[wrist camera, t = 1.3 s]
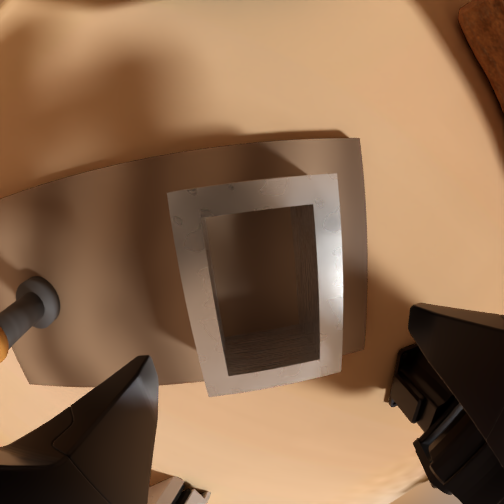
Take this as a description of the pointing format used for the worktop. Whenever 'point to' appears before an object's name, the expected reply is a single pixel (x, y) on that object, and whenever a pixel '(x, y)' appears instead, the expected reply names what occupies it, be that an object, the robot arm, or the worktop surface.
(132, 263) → the board
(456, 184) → the worktop surface
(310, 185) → the hollow metal box
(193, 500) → the grey rounded block
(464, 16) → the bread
